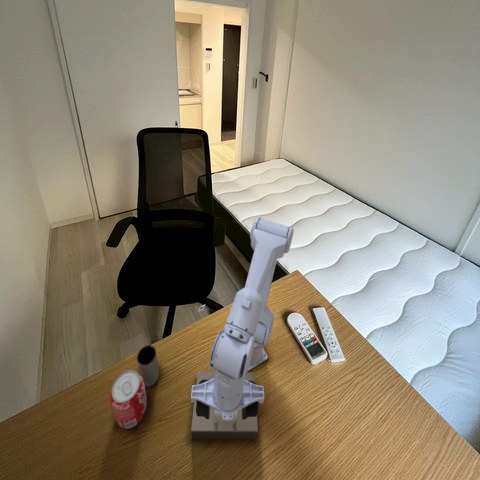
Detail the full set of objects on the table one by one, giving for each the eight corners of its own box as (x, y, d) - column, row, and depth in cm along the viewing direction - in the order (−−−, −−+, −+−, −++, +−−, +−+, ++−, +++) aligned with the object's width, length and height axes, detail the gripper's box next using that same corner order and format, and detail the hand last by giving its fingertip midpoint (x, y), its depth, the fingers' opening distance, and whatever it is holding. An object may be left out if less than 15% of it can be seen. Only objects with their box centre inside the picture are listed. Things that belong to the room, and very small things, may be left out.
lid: (257, 432, 53) (259, 423, 52) (190, 432, 53) (190, 422, 51) (254, 373, 63) (255, 364, 61) (197, 372, 62) (197, 363, 60)
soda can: (140, 384, 64) (135, 359, 58) (153, 411, 59) (148, 386, 54) (111, 409, 59) (103, 384, 54) (123, 440, 54) (115, 416, 49)
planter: (137, 376, 65) (133, 354, 61) (153, 362, 68) (150, 340, 64) (146, 391, 62) (142, 370, 58) (162, 376, 65) (159, 354, 61)
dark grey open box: (255, 439, 56) (257, 429, 54) (191, 438, 55) (191, 428, 53) (252, 384, 65) (254, 373, 63) (197, 383, 65) (197, 372, 62)
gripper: (187, 408, 43) (188, 440, 48) (269, 408, 43) (260, 440, 49) (193, 361, 49) (194, 394, 55) (264, 362, 50) (257, 394, 56)
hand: (225, 413), depth 52 cm, fingers open, 7 cm apart
